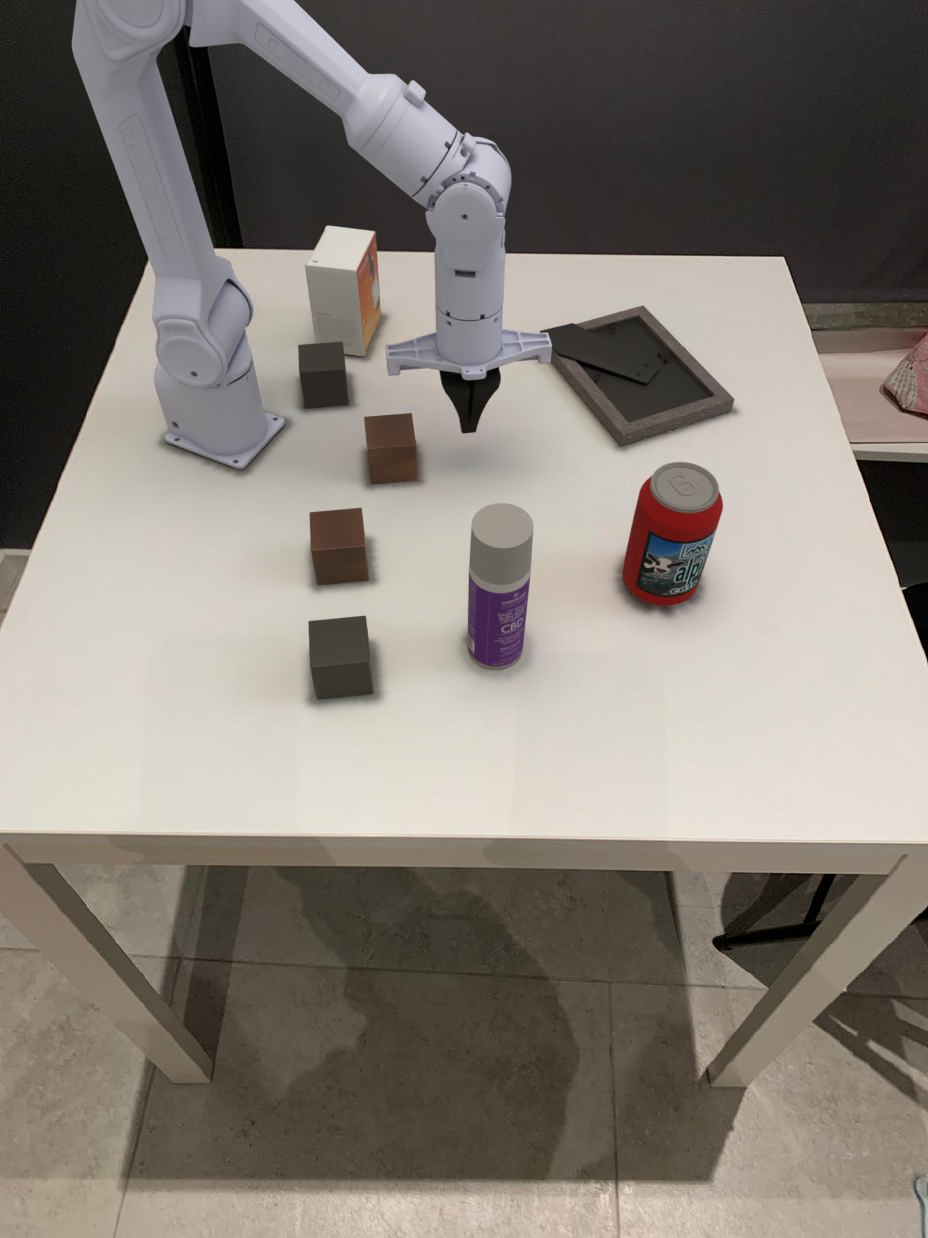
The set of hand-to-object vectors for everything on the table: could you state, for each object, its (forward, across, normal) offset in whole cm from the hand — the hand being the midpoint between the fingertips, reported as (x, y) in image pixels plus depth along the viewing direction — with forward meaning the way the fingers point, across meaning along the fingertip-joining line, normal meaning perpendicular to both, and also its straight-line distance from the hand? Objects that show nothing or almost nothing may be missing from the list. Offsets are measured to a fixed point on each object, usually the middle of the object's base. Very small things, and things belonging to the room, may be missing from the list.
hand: (467, 426), depth 89 cm
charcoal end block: (+4, -13, +12) cm, 18 cm away
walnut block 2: (+4, -7, 0) cm, 9 cm away
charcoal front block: (+4, -13, -24) cm, 28 cm away
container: (+5, -1, -23) cm, 23 cm away
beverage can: (+5, +15, -18) cm, 23 cm away
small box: (+4, -10, +22) cm, 25 cm away
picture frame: (+5, +19, +11) cm, 22 cm away
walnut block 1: (+4, -13, -12) cm, 18 cm away
